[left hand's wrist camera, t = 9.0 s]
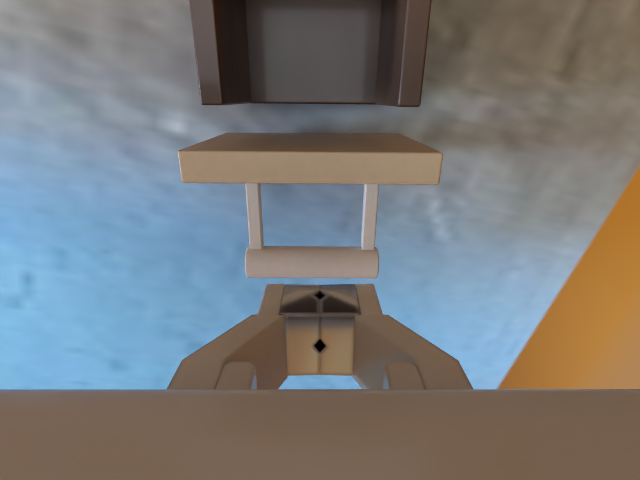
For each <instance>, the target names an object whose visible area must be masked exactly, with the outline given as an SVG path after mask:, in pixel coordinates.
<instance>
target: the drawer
mask: <svg viewBox="0 0 640 480" xmlns="http://www.w3.org/2000/svg"><path fill="white" fill-rule="evenodd" d="M190 9H191V18H192V27H193V36H194V45H195V54H196V64H197V73H198V82H199V91H200V100H201V104H202V105H231V104H245V103H290V104H379V105H388V106H398V107H419V106H420V103H421V94H422V84H423V75H424V66H425V56H426V47H427V37H428V28H429V18H430V9H431V0H190ZM178 157H179V165H180V172H181V179H182V182H183V183H245V187H246V201H247V215H248V229H249V243H250V246H248V247H247V250H246V254H245V271H246V275H247V277H257V278H377V276H378V271H379V255H378V250H377V248H376V247H374V246H375V232H376V218H377V204H378V190H379V184H399V185H437V184H439V180H440V173H441V165H442V158H443V153H441V152H439V151H437V150H434V149H432V148H430V147H428V146H426V145H423V144H421V143H419V142H417V141H414V140H412V139H410V138H408V137H405V136H403V135H401V134H302V133H225V134H222V135H220V136H217V137H214V138H211V139H209V140H206V141H203V142H201V143H198V144H195V145H193V146H190V147H187V148H185V149H182V150H179V151H178ZM260 183H271V184H364V200H363V218H362V236H361V247H306V246H263V245H264V243H263V225H262V207H261V189H260Z"/></svg>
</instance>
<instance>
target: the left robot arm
mask: <svg viewBox="0 0 640 480" xmlns="http://www.w3.org/2000/svg"><path fill="white" fill-rule="evenodd" d="M290 375H350V376H353V378H354V379H355V381H356V382H357V383H358V384H359V385H360V387H361V388H362V389H278V388H279V387H280V386H281V384H282V383H283V382H284V381H285V380H286V378H287V376H290ZM0 480H640V389H473V388H472V386H471V384H470V382H469V380H468V378H467V376H466V374H465V372H464V371H463V369H462V367H461V365H460V363H459V361H458V360H457V359H455V358H453V357H452V356H450V355H449V354H447V353H446V352H444V351H443V350H441V349H440V348H438V347H437V346H435V345H433V344H432V343H430V342H429V341H427V340H426V339H424V338H423V337H421V336H420V335H418V334H417V333H415V332H413V331H412V330H410V329H409V328H407V327H406V326H404V325H403V324H401V323H400V322H398V321H396V320H395V319H393V318H392V317H390V316H389V315H383V314H382V310H381V307H380V304H379V300H378V297H377V294H376V290H375V287H374V285H373V284H339V285H302V284H267V285H266V286H265V290H264V293H263V297H262V300H261V304H260V307H259V310H258V314H257V315H251V316H250V317H248V318H247V319H245V320H243V321H242V322H240V323H239V324H237V325H236V326H234V327H233V328H231V329H230V330H228V331H226V332H225V333H223V334H222V335H220V336H219V337H217V338H216V339H214V340H213V341H211V342H209V343H208V344H206V345H205V346H203V347H202V348H200V349H199V350H197V351H196V352H194V353H192V354H191V355H189V356H188V357H186V358H185V359H183V360H182V361H181V363H180V365H179V367H178V369H177V371H176V373H175V375H174V376H173V378H172V380H171V382H170V384H169V386H168V388H167V389H0Z"/></svg>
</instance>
